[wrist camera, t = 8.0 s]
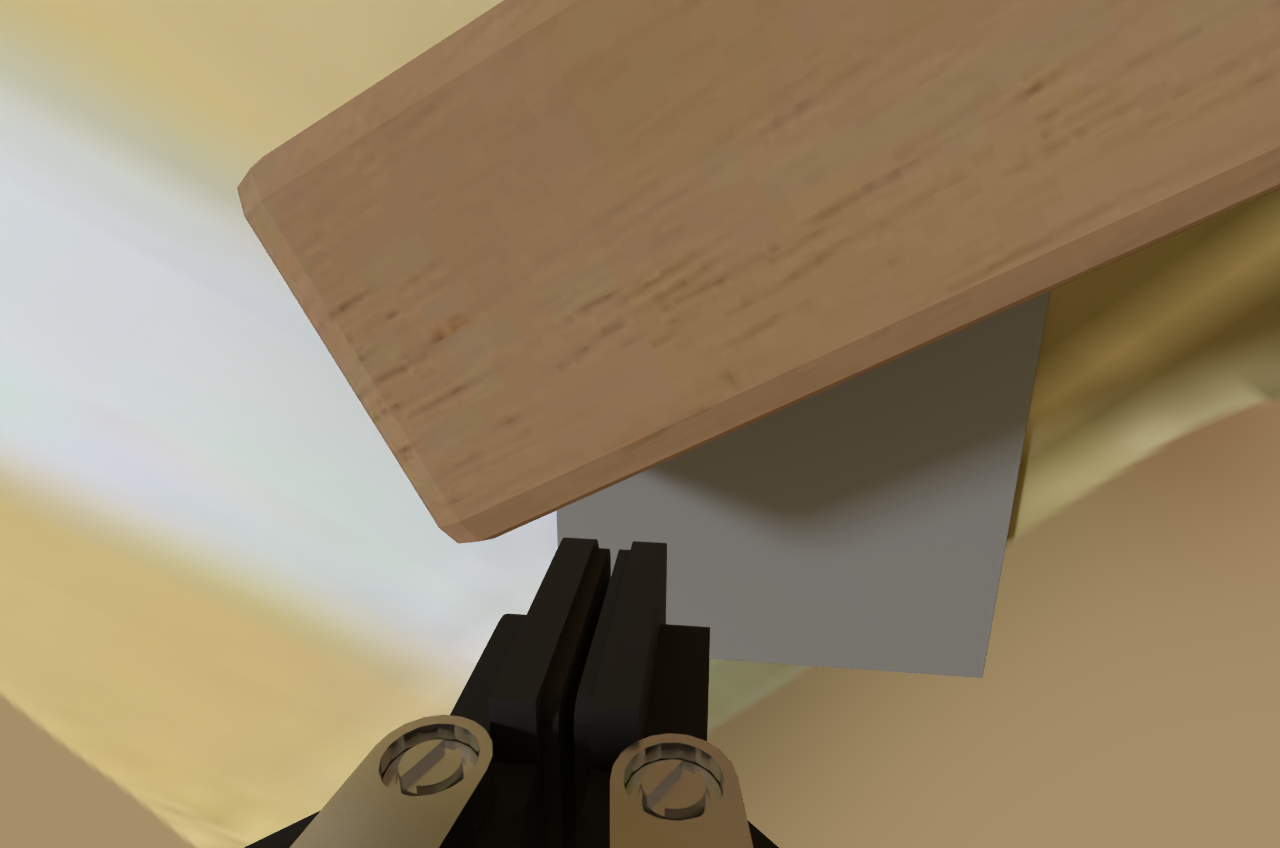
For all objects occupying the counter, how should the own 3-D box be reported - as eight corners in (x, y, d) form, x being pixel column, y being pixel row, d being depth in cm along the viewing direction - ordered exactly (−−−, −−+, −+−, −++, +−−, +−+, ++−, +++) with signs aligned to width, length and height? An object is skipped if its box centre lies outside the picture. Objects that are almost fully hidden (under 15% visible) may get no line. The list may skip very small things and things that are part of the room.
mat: (544, 48, 23) (541, 45, 23) (1088, 39, 21) (1094, 36, 21) (563, 642, 30) (561, 648, 29) (978, 671, 28) (982, 677, 28)
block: (544, 438, 27) (1103, 173, 22) (445, 572, 17) (1391, 156, 13) (401, 184, 24) (988, -170, 20) (197, 178, 15) (1234, -505, 10)
